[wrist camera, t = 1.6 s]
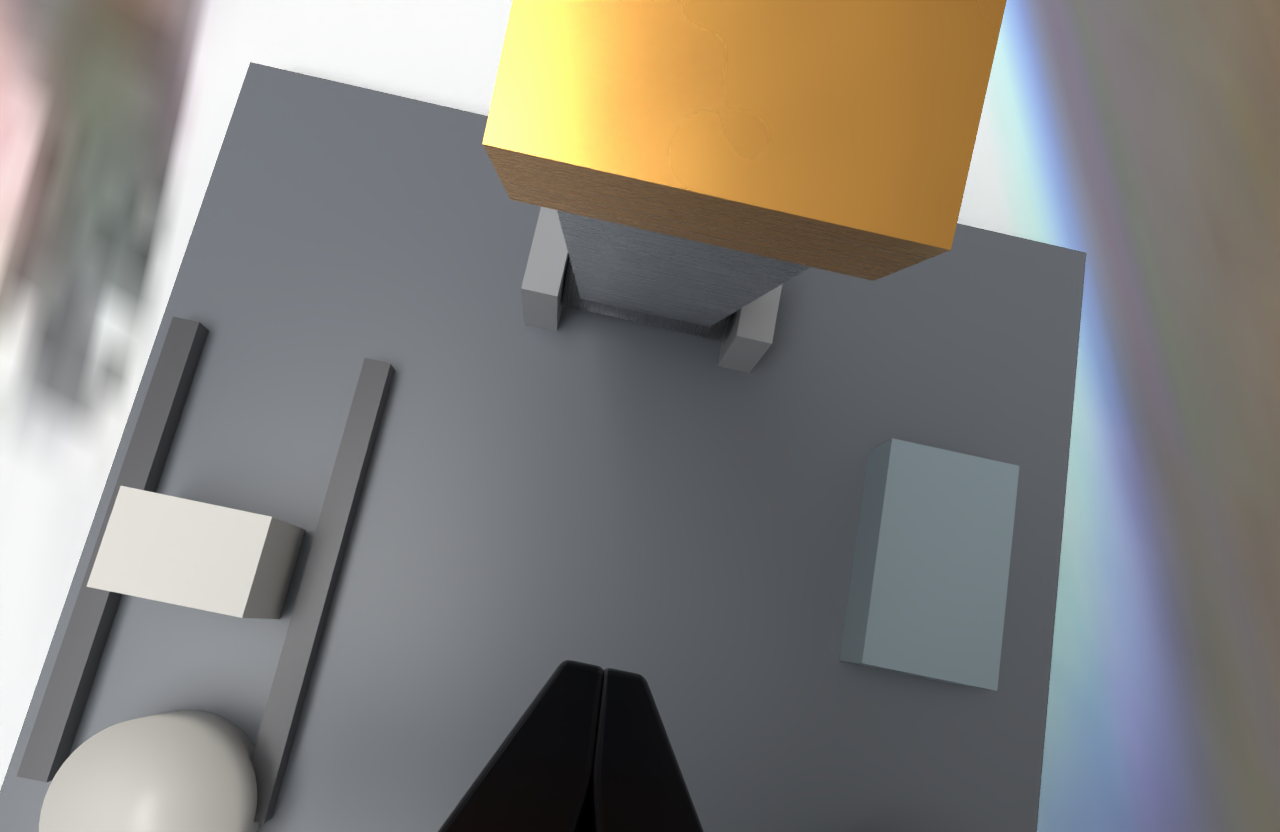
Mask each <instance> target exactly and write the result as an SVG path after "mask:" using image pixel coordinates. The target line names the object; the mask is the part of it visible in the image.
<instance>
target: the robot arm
mask: <svg viewBox="0 0 1280 832" xmlns="http://www.w3.org/2000/svg"><path fill="white" fill-rule="evenodd" d="M438 832H704V831H703V828H702V825H701V823H700V820H699V817H698V815H697V812H696V809H695V807H694V804H693V801H692V799H691V796H690V793H689V791H688V788H687V786H686V783H685V780H684V778H683V775H682V772H681V770H680V767H679V764H678V762H677V759H676V756H675V754H674V751H673V748H672V746H671V743H670V741H669V738H668V735H667V733H666V730H665V727H664V725H663V722H662V719H661V717H660V714H659V711H658V709H657V706H656V703H655V701H654V698H653V695H652V693H651V690H650V688H649V685H648V683H647V681H646V679H645V678H644V677H643V676H642V675H640V674H637V673H632V672H627V671H622V670H617V669H612V668H607V669H605V670H603V669H602V668H601V667H600V666H597V665H592V664H587V663H582V662H577V661H572V660H565V661H563V662H562V663H560V664H559V666H558V667H557V668H556V670H555V671H554V672H553V674H552V675H551V676H550V678H549V679H548V681H547V682H546V683H545V685H544V686H543V687H542V689H541V690H540V692H539V693H538V694H537V696H536V697H535V698H534V700H533V701H532V703H531V704H530V705H529V707H528V708H527V709H526V711H525V712H524V714H523V715H522V716H521V718H520V719H519V720H518V722H517V723H516V725H515V726H514V727H513V729H512V730H511V731H510V733H509V734H508V735H507V737H506V738H505V740H504V741H503V742H502V744H501V745H500V746H499V748H498V749H497V751H496V752H495V753H494V755H493V756H492V757H491V759H490V760H489V762H488V763H487V764H486V766H485V767H484V768H483V770H482V771H481V773H480V774H479V775H478V777H477V778H476V779H475V781H474V782H473V784H472V785H471V786H470V788H469V789H468V790H467V792H466V793H465V794H464V796H463V797H462V799H461V800H460V801H459V803H458V804H457V805H456V807H455V808H454V810H453V811H452V812H451V814H450V815H449V816H448V818H447V819H446V821H445V822H444V823H443V825H442V826H441V827H440V829H439V830H438Z"/></svg>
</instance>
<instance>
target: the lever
mask: <svg viewBox="0 0 1280 832" xmlns="http://www.w3.org/2000/svg"><path fill="white" fill-rule="evenodd" d="M1005 5H1006V0H513V2H512V7H511V11H510V16H509V21H508V26H507V30H506V35H505V40H504V45H503V49H502V54H501V59H500V64H499V68H498V73H497V78H496V82H495V87H494V92H493V97H492V101H491V106H490V111H489V116H488V120H487V125H486V130H485V135H484V139H483V146H484V148H485V150H486V152H487V154H488V156H489V158H490V160H491V162H492V164H493V166H494V168H495V170H496V172H497V174H498V176H499V178H500V180H501V182H502V184H503V186H504V188H505V190H506V192H507V194H508V196H509V198H510V200H514V201H519V202H523V203H528V204H532V205H537V206H541V207H546V208H550V209H555V210H557V213H558V216H559V220H560V224H561V228H562V231H563V235H564V239H565V243H566V246H567V250H568V254H569V258H570V261H569V266H568V270H567V276H566V281H565V287H564V293H563V301H562V306H566V307H570V308H575V309H579V310H584V311H588V312H593V313H597V314H602V315H607V316H611V317H616V318H620V319H625V320H629V321H634V322H638V323H643V324H648V325H652V326H657V327H661V328H666V329H670V330H675V331H679V332H684V333H689V334H693V335H698V336H702V337H707V338H711V339H716V340H720V341H721V340H722V339H723V337H724V335H725V333H726V330H727V327H728V324H729V320H730V317H731V314H732V313H734V312H736V311H737V310H739V309H741V308H742V307H744V306H746V305H747V304H749V303H751V302H753V301H754V300H756V299H758V298H759V297H761V296H763V295H765V294H766V293H768V292H770V291H771V290H773V289H775V288H776V287H778V286H780V285H782V284H783V283H785V282H787V281H788V280H790V279H792V278H793V277H795V276H797V275H799V274H800V273H802V272H804V271H805V270H807V269H809V268H810V267H813V268H818V269H822V270H827V271H831V272H835V273H840V274H844V275H849V276H853V277H858V278H862V279H867V280H871V281H875V280H877V279H880V278H882V277H885V276H887V275H890V274H892V273H895V272H897V271H900V270H902V269H905V268H907V267H910V266H912V265H915V264H917V263H920V262H922V261H925V260H927V259H930V258H932V257H935V256H937V255H940V254H942V253H945V252H947V251H950V250H951V247H952V243H953V238H954V234H955V229H956V225H957V221H958V216H959V212H960V207H961V203H962V198H963V194H964V189H965V185H966V180H967V176H968V171H969V167H970V162H971V158H972V153H973V149H974V144H975V140H976V135H977V131H978V126H979V122H980V117H981V113H982V108H983V104H984V99H985V95H986V90H987V86H988V81H989V77H990V72H991V68H992V63H993V59H994V54H995V50H996V45H997V41H998V36H999V32H1000V27H1001V23H1002V18H1003V14H1004V9H1005Z"/></svg>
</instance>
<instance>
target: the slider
mask: <svg viewBox="0 0 1280 832" xmlns="http://www.w3.org/2000/svg"><path fill="white" fill-rule="evenodd" d="M304 532H305V530H304V529H302V528H299V527H297V526H294V525H292V524H289V523H287V522H284V521H282V520H279V519H276V518H274V517H271V516H266V515H261V514H256V513H251V512H247V511H242V510H237V509H232V508H227V507H222V506H217V505H213V504H208V503H203V502H198V501H193V500H188V499H184V498H179V497H174V496H169V495H164V494H159V493H154V492H150V491H145V490H140V489H135V488H130V487H125V486H120V489H119V492H118V495H117V498H116V501H115V504H114V507H113V510H112V513H111V516H110V518H109V521H108V524H107V527H106V530H105V533H104V536H103V539H102V542H101V545H100V548H99V551H98V554H97V557H96V560H95V563H94V566H93V569H92V572H91V575H90V577H89V580H88V583H87V586H86V587H91V588H96V589H101V590H106V591H111V592H116V593H121V594H126V595H131V596H136V597H140V598H145V599H150V600H155V601H160V602H165V603H170V604H175V605H180V606H185V607H190V608H195V609H200V610H205V611H210V612H215V613H220V614H225V615H230V616H235V617H240V618H260V619H280V616H281V612H282V609H283V605H284V602H285V598H286V595H287V591H288V588H289V584H290V581H291V577H292V574H293V570H294V567H295V563H296V560H297V556H298V553H299V549H300V546H301V542H302V539H303V535H304Z"/></svg>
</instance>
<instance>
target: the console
mask: <svg viewBox="0 0 1280 832" xmlns="http://www.w3.org/2000/svg"><path fill="white" fill-rule="evenodd" d="M487 120H488V116H484V115H479V114H475V113H471V112H466V111H462V110H458V109H453V108H449V107H444V106H440V105H436V104H431V103H427V102H422V101H418V100H414V99H409V98H405V97H401V96H396V95H392V94H387V93H383V92H379V91H374V90H370V89H365V88H361V87H357V86H352V85H348V84H344V83H339V82H335V81H330V80H326V79H322V78H317V77H313V76H308V75H304V74H300V73H295V72H291V71H287V70H282V69H278V68H273V67H269V66H265V65H260V64H256V63H251V62H250V65H249V68H248V71H247V74H246V77H245V80H244V83H243V85H242V88H241V91H240V94H239V97H238V100H237V103H236V106H235V109H234V112H233V115H232V118H231V120H230V123H229V126H228V129H227V132H226V135H225V138H224V141H223V144H222V147H221V150H220V152H219V155H218V158H217V161H216V164H215V167H214V170H213V173H212V176H211V179H210V182H209V185H208V187H207V190H206V193H205V196H204V199H203V202H202V205H201V208H200V211H199V214H198V217H197V220H196V222H195V225H194V228H193V231H192V234H191V237H190V240H189V243H188V246H187V249H186V252H185V255H184V257H183V260H182V263H181V266H180V269H179V272H178V275H177V278H176V281H175V284H174V287H173V289H172V292H171V295H170V298H169V301H168V304H167V307H166V310H165V313H164V316H163V319H162V322H161V324H160V327H159V330H158V333H157V336H156V339H155V342H154V345H153V348H152V351H151V354H150V357H149V359H148V362H147V365H146V368H145V371H144V374H143V377H142V380H141V383H140V386H139V389H138V391H137V394H136V397H135V400H134V403H133V406H132V409H131V412H130V415H129V418H128V421H127V424H126V426H125V429H124V432H123V435H122V438H121V441H120V444H119V447H118V450H117V453H116V456H115V459H114V461H113V464H112V467H111V470H110V473H109V476H108V479H107V482H106V485H105V488H104V491H103V493H102V496H101V499H100V502H99V505H98V508H97V511H96V514H95V517H94V520H93V523H92V526H91V528H90V531H89V534H88V537H87V540H86V543H85V546H84V549H83V552H82V555H81V558H80V561H79V563H78V566H77V569H76V572H75V575H74V578H73V581H72V584H71V587H70V590H69V593H68V595H67V598H66V601H65V604H64V607H63V610H62V613H61V616H60V619H59V622H58V625H57V628H56V630H55V633H54V636H53V639H52V642H51V645H50V648H49V651H48V654H47V657H46V660H45V663H44V665H43V668H42V671H41V674H40V677H39V680H38V683H37V686H36V689H35V692H34V695H33V698H32V700H31V703H30V706H29V709H28V712H27V715H26V718H25V721H24V724H23V727H22V730H21V732H20V735H19V738H18V741H17V744H16V747H15V750H14V753H13V756H12V759H11V762H10V765H9V767H8V770H7V773H6V776H5V779H4V782H3V785H2V788H1V791H0V832H438V830H439V829H440V827H441V826H442V825H443V823H444V822H445V821H446V819H447V818H448V816H449V815H450V814H451V812H452V811H453V810H454V808H455V807H456V805H457V804H458V803H459V801H460V800H461V799H462V797H463V796H464V794H465V793H466V792H467V790H468V789H469V788H470V786H471V785H472V784H473V782H474V781H475V779H476V778H477V777H478V775H479V774H480V773H481V771H482V770H483V768H484V767H485V766H486V764H487V763H488V762H489V760H490V759H491V757H492V756H493V755H494V753H495V752H496V751H497V749H498V748H499V746H500V745H501V744H502V742H503V741H504V740H505V738H506V737H507V735H508V734H509V733H510V731H511V730H512V729H513V727H514V726H515V725H516V723H517V722H518V720H519V719H520V718H521V716H522V715H523V714H524V712H525V711H526V709H527V708H528V707H529V705H530V704H531V703H532V701H533V700H534V698H535V697H536V696H537V694H538V693H539V692H540V690H541V689H542V687H543V686H544V685H545V683H546V682H547V681H548V679H549V678H550V676H551V675H552V674H553V672H554V671H555V670H556V668H557V667H558V666H559V664H560V663H562V662H563V661H565V660H572V661H577V662H582V663H587V664H592V665H597V666H600V667H601V668H602V669H603V670H605V669H607V668H612V669H617V670H622V671H627V672H632V673H637V674H640V675H642V676H643V677H644V678H645V679H646V681H647V683H648V685H649V688H650V690H651V693H652V695H653V698H654V701H655V703H656V706H657V709H658V711H659V714H660V717H661V719H662V722H663V725H664V727H665V730H666V733H667V735H668V738H669V741H670V743H671V746H672V748H673V751H674V754H675V756H676V759H677V762H678V764H679V767H680V770H681V772H682V775H683V778H684V780H685V783H686V786H687V788H688V791H689V793H690V796H691V799H692V801H693V804H694V807H695V809H696V812H697V815H698V817H699V820H700V823H701V825H702V828H703V831H704V832H1037V820H1038V809H1039V797H1040V785H1041V774H1042V762H1043V750H1044V739H1045V727H1046V715H1047V704H1048V692H1049V680H1050V669H1051V657H1052V646H1053V634H1054V622H1055V611H1056V599H1057V587H1058V576H1059V564H1060V552H1061V541H1062V529H1063V517H1064V506H1065V494H1066V482H1067V471H1068V459H1069V447H1070V436H1071V424H1072V412H1073V401H1074V389H1075V377H1076V366H1077V354H1078V342H1079V331H1080V319H1081V307H1082V296H1083V284H1084V272H1085V261H1086V253H1085V252H1080V251H1076V250H1071V249H1067V248H1063V247H1058V246H1054V245H1050V244H1045V243H1041V242H1036V241H1032V240H1028V239H1023V238H1019V237H1014V236H1010V235H1006V234H1001V233H997V232H993V231H988V230H984V229H979V228H975V227H971V226H966V225H962V224H957V225H956V229H955V234H954V238H953V243H952V247H951V250H950V251H947V252H945V253H942V254H940V255H937V256H935V257H932V258H930V259H927V260H925V261H922V262H920V263H917V264H915V265H912V266H910V267H907V268H905V269H902V270H900V271H897V272H895V273H892V274H890V275H887V276H885V277H882V278H880V279H877V280H875V281H871V280H867V279H862V278H858V277H853V276H849V275H844V274H840V273H835V272H831V271H827V270H822V269H818V268H813V267H810V268H809V269H807V270H805V271H804V272H802V273H800V274H799V275H797V276H795V277H793V278H792V279H790V280H788V281H787V282H785V283H783V284H782V285H780V286H778V287H776V288H775V289H773V290H771V291H770V292H768V293H766V294H765V295H763V296H761V297H759V298H758V299H756V300H754V301H753V302H751V303H749V304H747V305H746V306H744V307H742V308H741V309H739V310H737V311H736V312H734V313H732V314H731V317H730V320H729V324H728V327H727V330H726V333H725V335H724V337H723V339H722V340H721V341H720V340H716V339H711V338H707V337H702V336H698V335H693V334H689V333H684V332H679V331H675V330H670V329H666V328H661V327H657V326H652V325H648V324H643V323H638V322H634V321H629V320H625V319H620V318H616V317H611V316H607V315H602V314H597V313H593V312H588V311H584V310H579V309H575V308H570V307H566V306H562V301H563V293H564V287H565V281H566V276H567V270H568V266H569V261H570V258H569V254H568V250H567V246H566V243H565V239H564V235H563V231H562V228H561V224H560V220H559V216H558V213H557V210H555V209H550V208H546V207H541V206H537V205H532V204H528V203H523V202H519V201H514V200H510V198H509V196H508V194H507V192H506V190H505V188H504V186H503V184H502V182H501V180H500V178H499V176H498V174H497V172H496V170H495V168H494V166H493V164H492V162H491V160H490V158H489V156H488V154H487V152H486V150H485V148H484V146H483V139H484V135H485V130H486V125H487ZM120 486H125V487H130V488H135V489H140V490H145V491H150V492H154V493H159V494H164V495H169V496H174V497H179V498H184V499H188V500H193V501H198V502H203V503H208V504H213V505H217V506H222V507H227V508H232V509H237V510H242V511H247V512H251V513H256V514H261V515H266V516H271V517H274V518H276V519H279V520H282V521H284V522H287V523H289V524H292V525H294V526H297V527H299V528H302V529H304V530H305V532H304V535H303V539H302V542H301V546H300V549H299V553H298V556H297V560H296V563H295V567H294V570H293V574H292V577H291V581H290V584H289V588H288V591H287V595H286V598H285V602H284V605H283V609H282V612H281V616H280V619H260V618H240V617H235V616H230V615H225V614H220V613H215V612H210V611H205V610H200V609H195V608H190V607H185V606H180V605H175V604H170V603H165V602H160V601H155V600H150V599H145V598H140V597H136V596H131V595H126V594H121V593H116V592H111V591H106V590H101V589H96V588H91V587H86V586H87V583H88V580H89V577H90V575H91V572H92V569H93V566H94V563H95V560H96V557H97V554H98V551H99V548H100V545H101V542H102V539H103V536H104V533H105V530H106V527H107V524H108V521H109V518H110V516H111V513H112V510H113V507H114V504H115V501H116V498H117V495H118V492H119V489H120Z"/></svg>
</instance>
